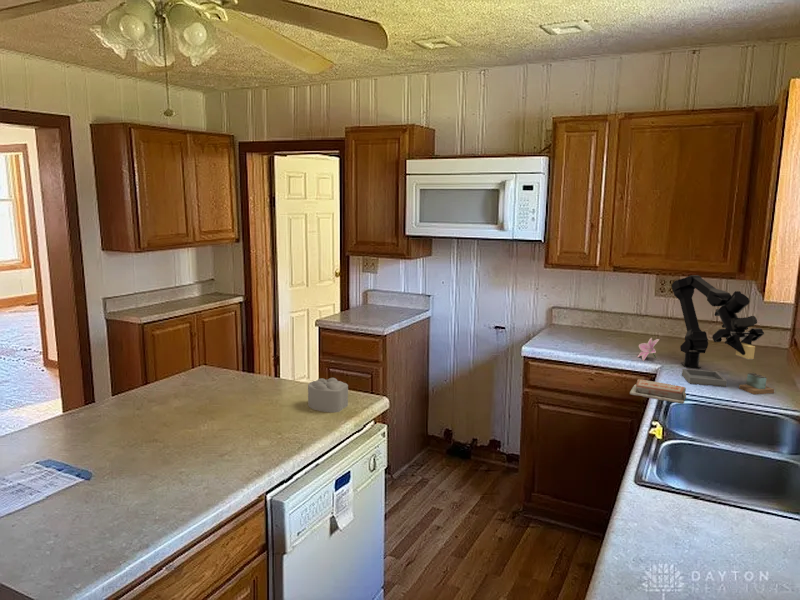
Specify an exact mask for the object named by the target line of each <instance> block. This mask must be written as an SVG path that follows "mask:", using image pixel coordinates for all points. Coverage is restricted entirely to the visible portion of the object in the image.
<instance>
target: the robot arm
mask: <svg viewBox="0 0 800 600" xmlns="http://www.w3.org/2000/svg"><path fill="white" fill-rule="evenodd" d="M671 290H672V292H673V296H675V298H676V299H678V301H679V304H680V308H681V311H682V315H683V316H682V317H683V319H684V323H685V328H686V333H685V336H684V342H683V343H682V344H681V345H680V347H679V348H680V352H682V353H684V361H681V365H683V367H684V368H692V369H693V368H696V369H701V368H702V366H701V365H700V357H701V354H706V352H707V349H708V346H709V338H708V336H707V335H708V334H707V332H706V331H702V329H701V328H700V324H699V320H698V317H697V313H696V310H695V305H694V300H693V297H694V294H695V290H697V291H698V292H700V293H701V294H703V295H704V296H705V297H706V301H707V303H708V304H709V305H711V307H719V308H717V309H716V310H715V312H714V317H719V318H720V320H721V322H722V325H721V328H719V329H718V330H717V331H716V332H714V333H713V334H712V340H713V343H721V342H722V340H723V339H722V338H725V340H724V344H726V345H728V346H730V347H731V348H733V349H734V350H735V351H736V350H737V351H738V352H740V353H741V354H742V355H745V351H744V348H743V346H742V344H741V343H746V344H749V345H752V344H753V343H752V342H755V341H757V340H759V339H760V338H761V337H762V336H764V335H765V332H764V330H763V329H762V328H758V327H756V328H750V329H749V327H754V326H755V325H757V324H758V318H757V317H756V316H755V315H750V316H747V317H746V316H745V317H744V316H743V317H738V314H739V313H741V312H742V311H743V310H744V309H745V308H746V307H747V306H748V305H749V304H750V302H751V301H750V298H749V297H747V295H745V294H743V293H742V292H741V291H739V290H738V291H737V290H735V291H734V292H733V293H732V295H731V293H729V292H728V291H725V290H722V289H719V288H716V287H715V286H713V285H712V284H710V283H709V282H708V281H706V280H705V279H703V277H702V276H700V275H698V274H697V275H694V274H693V275H688V276H686V277H684V278H683V277H682V278H679V279H676V280H674V281H673V282H672V284H671ZM748 329H749V330H748ZM747 330H748V331H747ZM752 346H753V345H752Z"/></svg>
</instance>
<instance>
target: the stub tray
mask: <svg viewBox="0 0 800 600" xmlns="http://www.w3.org/2000/svg"><path fill="white" fill-rule="evenodd" d="M681 375H682V376H683V378H684V379H685V380H686V382H687V383H688V384H689V383H690V385H697V384H699V385H700V386H708V385H713V386H712V387H720V386H721V388H722V387H723V388H727V383H728V380H727V379H726V378H725V377H724V376H723V375H722V374H720V372H719V371H717V370H703V369H693V368H692V369H690V368H689V369H688V368H682V371H681Z"/></svg>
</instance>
